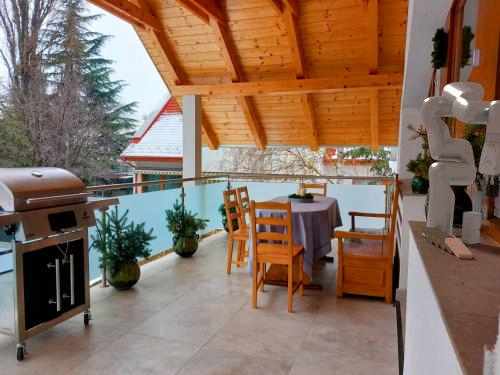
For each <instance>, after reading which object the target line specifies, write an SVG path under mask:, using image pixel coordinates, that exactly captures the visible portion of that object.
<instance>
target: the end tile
mask: <svg viewBox="0 0 500 375" xmlns="http://www.w3.org/2000/svg"><path fill="white" fill-rule="evenodd" d="M445 243H446V244H447V245H448V246H449V248H450V249H451V250H452V251H453V253H454V254H453V255H455V256H456V258H457V259H470V260H471V259H473V255H474V254H473V253H472V252H471V251H470V249H469V248H468V247H467V246H466V245H465V243H463V242H462V241H461V238H459V237H456V238H446V239H445Z"/></svg>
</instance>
